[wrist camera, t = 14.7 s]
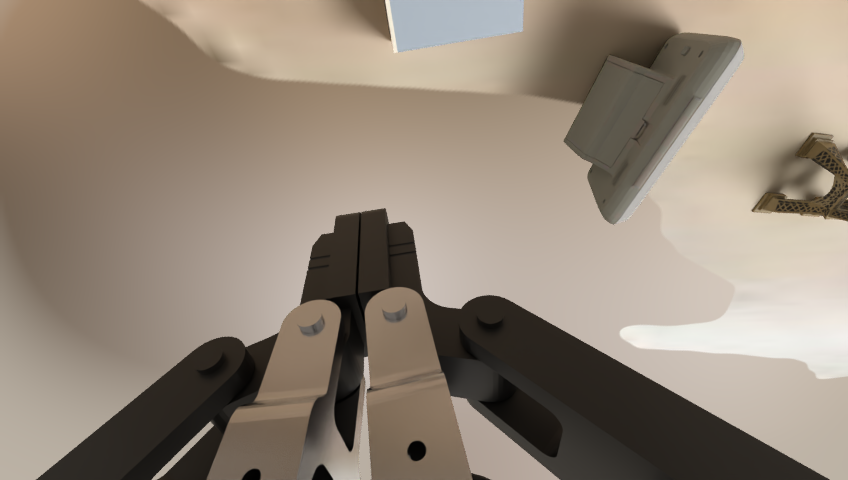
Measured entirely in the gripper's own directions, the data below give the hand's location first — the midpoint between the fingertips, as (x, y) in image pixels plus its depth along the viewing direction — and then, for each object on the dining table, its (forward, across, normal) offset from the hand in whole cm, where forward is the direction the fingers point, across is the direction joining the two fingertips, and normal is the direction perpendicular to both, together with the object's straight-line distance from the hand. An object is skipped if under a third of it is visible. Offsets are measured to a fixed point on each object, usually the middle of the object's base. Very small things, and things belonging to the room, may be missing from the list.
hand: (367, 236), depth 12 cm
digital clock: (+27, -24, +8) cm, 37 cm away
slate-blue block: (+24, -2, -4) cm, 25 cm away
